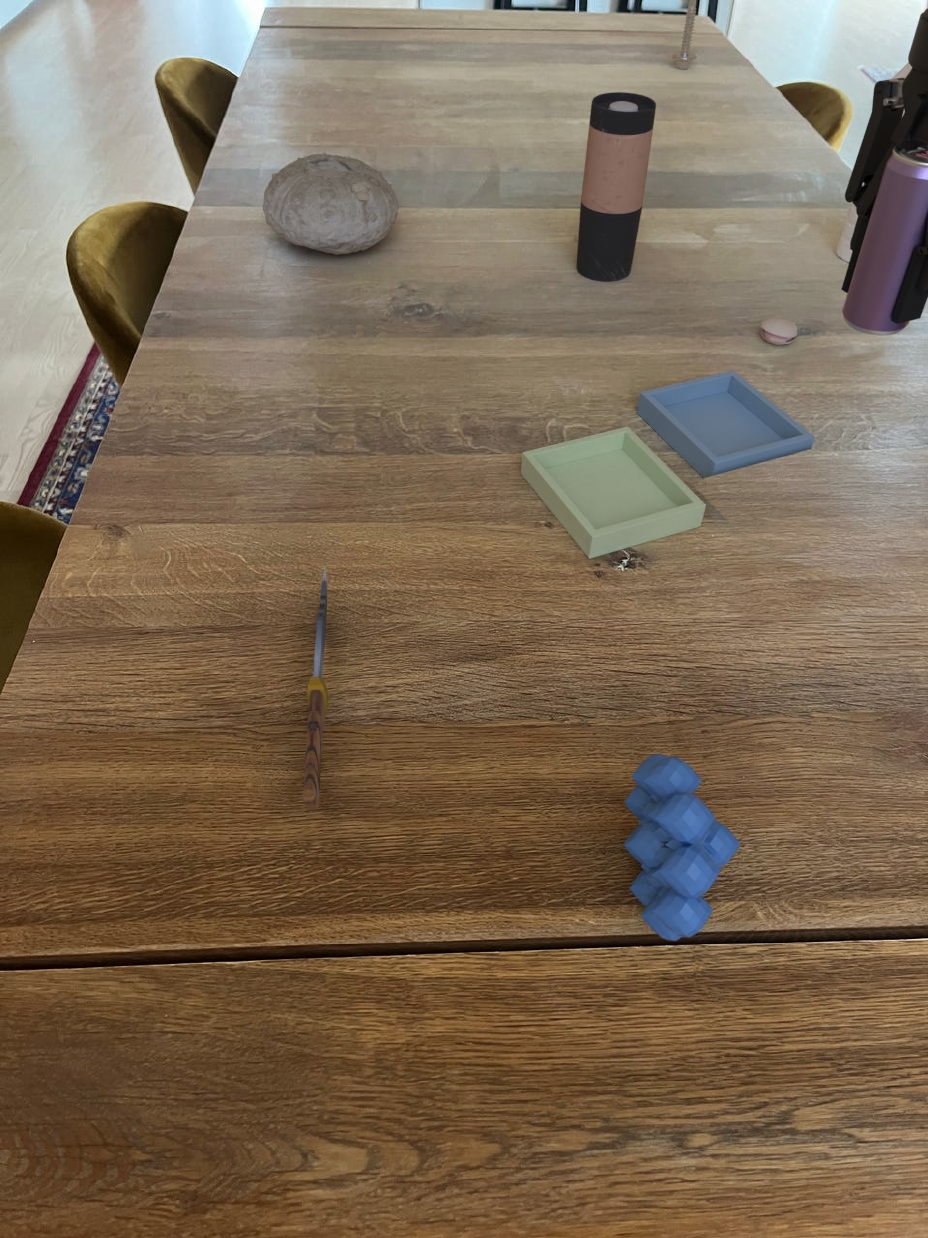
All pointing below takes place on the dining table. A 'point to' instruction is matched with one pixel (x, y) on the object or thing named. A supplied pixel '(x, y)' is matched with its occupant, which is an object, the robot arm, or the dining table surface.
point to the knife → (316, 709)
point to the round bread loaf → (330, 204)
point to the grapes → (674, 847)
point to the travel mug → (614, 183)
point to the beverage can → (889, 243)
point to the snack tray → (611, 491)
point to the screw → (686, 40)
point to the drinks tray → (721, 423)
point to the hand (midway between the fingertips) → (879, 303)
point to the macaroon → (778, 331)
